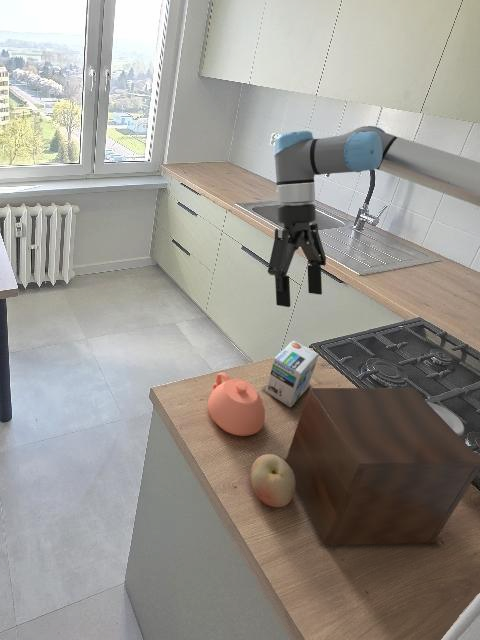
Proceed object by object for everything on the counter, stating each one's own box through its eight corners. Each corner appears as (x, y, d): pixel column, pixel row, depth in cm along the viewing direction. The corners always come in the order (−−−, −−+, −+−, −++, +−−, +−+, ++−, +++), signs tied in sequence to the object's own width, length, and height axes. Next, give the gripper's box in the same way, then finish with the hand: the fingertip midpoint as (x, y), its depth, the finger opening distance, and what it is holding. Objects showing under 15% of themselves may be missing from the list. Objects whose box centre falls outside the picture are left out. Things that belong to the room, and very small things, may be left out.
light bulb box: (290, 408, 99) (301, 374, 94) (263, 391, 103) (273, 358, 99) (309, 386, 105) (320, 353, 101) (283, 371, 110) (293, 339, 106)
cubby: (377, 463, 87) (413, 387, 78) (433, 543, 73) (484, 462, 64) (284, 464, 86) (309, 387, 77) (323, 545, 72) (360, 463, 63)
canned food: (406, 432, 94) (424, 396, 90) (449, 459, 88) (470, 421, 84) (392, 449, 90) (410, 412, 85) (436, 478, 84) (458, 440, 80)
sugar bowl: (229, 449, 88) (237, 415, 84) (191, 400, 100) (197, 367, 96) (273, 432, 92) (284, 398, 88) (232, 387, 104) (240, 355, 100)
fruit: (237, 490, 80) (245, 462, 77) (260, 466, 85) (268, 439, 82) (276, 525, 75) (286, 496, 71) (298, 497, 79) (308, 469, 76)
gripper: (307, 201, 101) (311, 286, 103) (247, 208, 87) (252, 308, 88) (340, 199, 95) (343, 291, 97) (281, 207, 81) (286, 314, 82)
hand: (300, 299), depth 92 cm, fingers open, 13 cm apart
